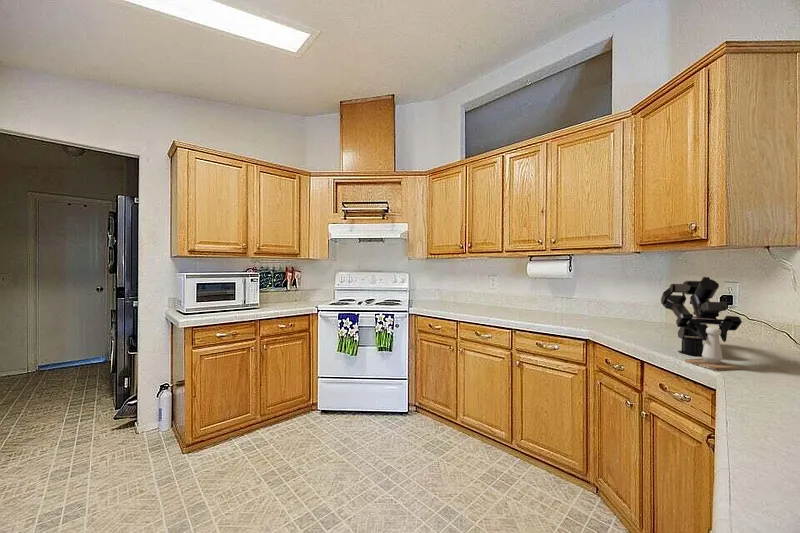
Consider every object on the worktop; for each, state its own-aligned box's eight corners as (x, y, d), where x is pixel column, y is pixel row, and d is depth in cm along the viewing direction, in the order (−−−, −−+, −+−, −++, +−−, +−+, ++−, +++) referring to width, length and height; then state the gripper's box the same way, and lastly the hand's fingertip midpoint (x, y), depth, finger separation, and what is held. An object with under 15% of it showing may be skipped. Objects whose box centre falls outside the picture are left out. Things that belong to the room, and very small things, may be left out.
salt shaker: (709, 359, 141) (711, 325, 140) (726, 364, 135) (728, 329, 134) (697, 360, 139) (699, 326, 138) (714, 365, 133) (716, 329, 133)
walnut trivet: (685, 362, 141) (685, 359, 141) (708, 360, 143) (708, 358, 143) (715, 370, 130) (715, 368, 130) (739, 369, 133) (740, 366, 133)
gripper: (680, 292, 143) (691, 325, 133) (740, 294, 137) (756, 330, 127) (671, 309, 151) (681, 342, 140) (728, 312, 145) (742, 347, 134)
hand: (714, 340), depth 135 cm, fingers open, 6 cm apart
